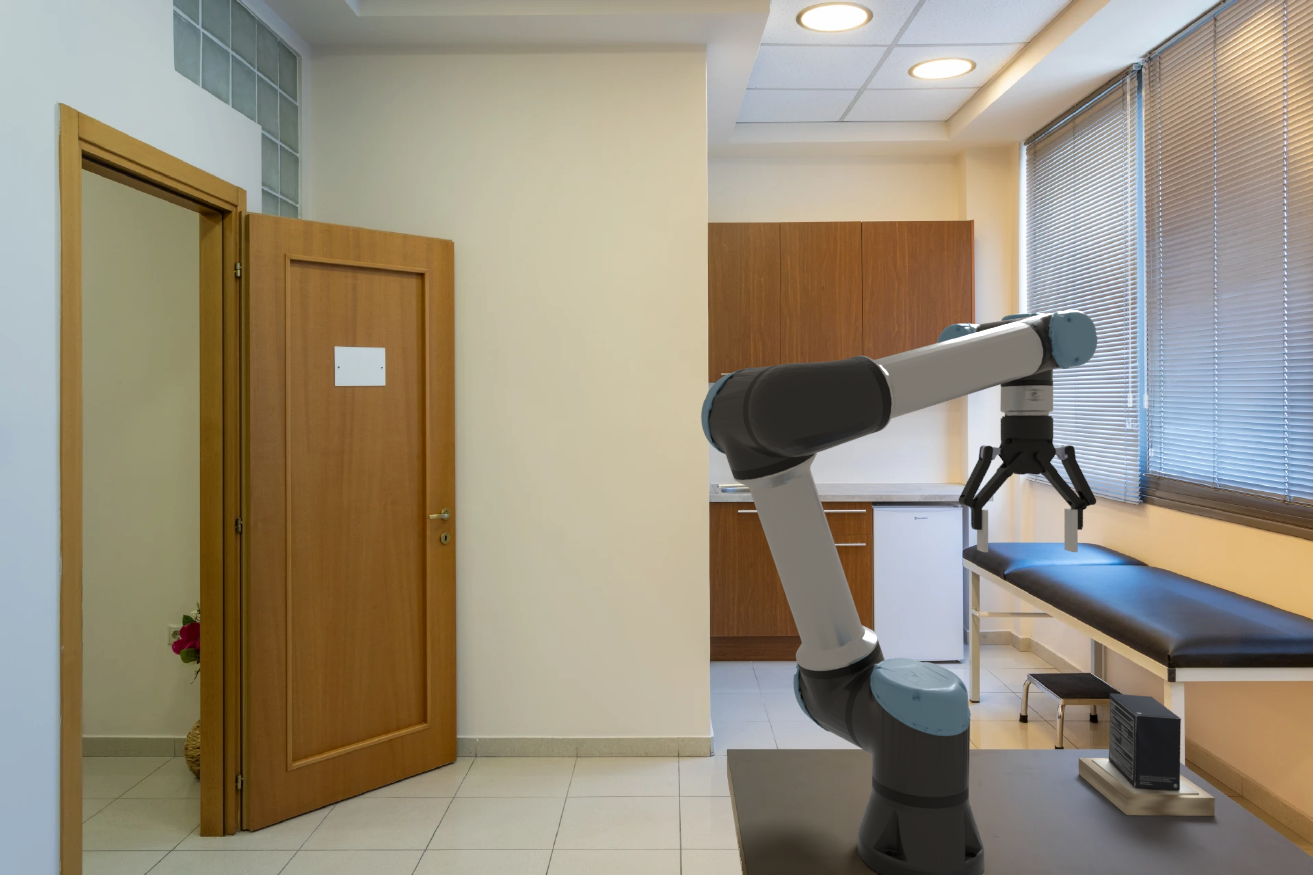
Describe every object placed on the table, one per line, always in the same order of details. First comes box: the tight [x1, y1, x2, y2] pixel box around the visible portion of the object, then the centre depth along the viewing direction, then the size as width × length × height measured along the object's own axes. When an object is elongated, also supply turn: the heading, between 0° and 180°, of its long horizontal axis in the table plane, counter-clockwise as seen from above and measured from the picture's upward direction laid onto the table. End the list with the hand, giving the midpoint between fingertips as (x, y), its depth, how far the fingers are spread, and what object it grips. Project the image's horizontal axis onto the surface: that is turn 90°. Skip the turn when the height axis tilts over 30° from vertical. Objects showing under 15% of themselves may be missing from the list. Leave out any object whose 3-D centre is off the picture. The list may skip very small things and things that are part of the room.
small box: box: [1108, 692, 1182, 791], centre depth 123 cm, size 11×6×10 cm, turn 170°
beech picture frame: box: [1078, 757, 1216, 817], centre depth 123 cm, size 12×14×3 cm
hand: (1026, 551), depth 131 cm, fingers open, 13 cm apart
